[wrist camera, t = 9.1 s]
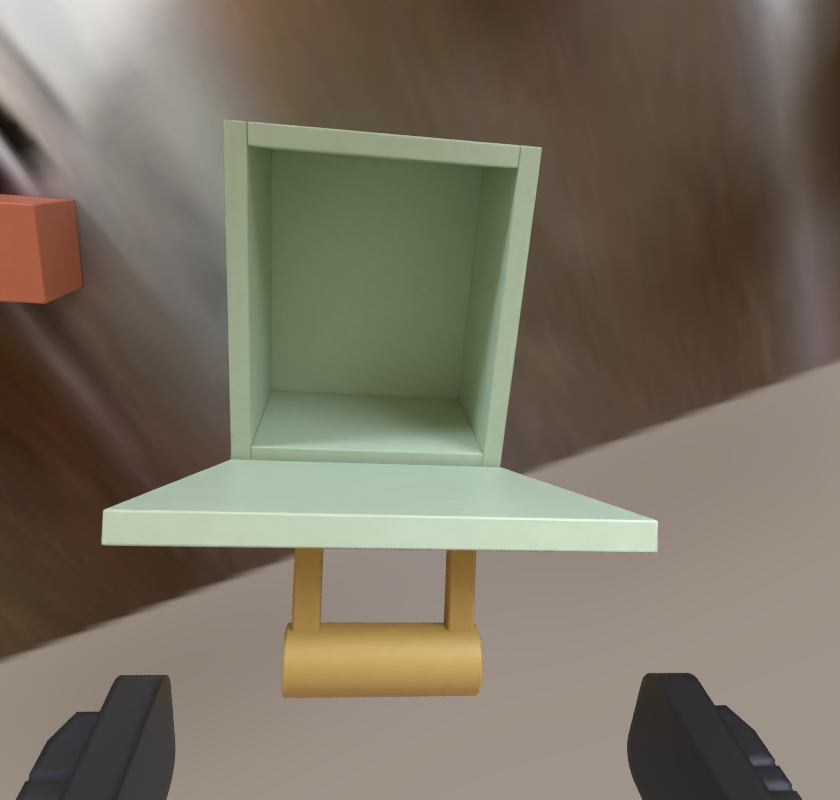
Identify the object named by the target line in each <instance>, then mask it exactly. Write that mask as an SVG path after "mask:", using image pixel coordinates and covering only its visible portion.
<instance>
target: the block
mask: <svg viewBox="0 0 840 800" xmlns="http://www.w3.org/2000/svg"><path fill="white" fill-rule="evenodd" d="M82 287H83V281H82V271H81V261H80V251H79V241H78V230H77V220H76V210H75V201H74V200H72V199H59V198H45V197H31V196H18V195H4V194H0V301H4V302H22V303H40V304H46V303H48V302H50V301H52V300H55V299H57V298H59V297H61V296H64V295H66V294H68V293H70V292H73V291H75V290H77V289H79V288H82Z"/></svg>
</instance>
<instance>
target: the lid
mask: <svg viewBox="0 0 840 800" xmlns="http://www.w3.org/2000/svg"><path fill="white" fill-rule="evenodd" d="M657 537H658V522H657V521H656V520H654V519H651V518H648V517H645V516H642V515H639V514H635V513H633V512H631V511H628V510H624V509H622V508H619V507H616V506H613V505H610V504H607V503H604V502H601V501H598V500H595V499H592V498H589V497H586V496H583V495H580V494H577V493H575V492H572V491H569V490H566V489H563V488H560V487H557V486H554V485H551V484H548V483H545V482H542V481H539V480H536V479H534V478H530V477H528V476H525V475H522V474H519V473H516V472H513V471H510V470H507V469H504V468H501V467H471V466H436V465H402V464H368V463H334V462H300V461H266V460H232V459H231V460H228V461H226V462H223V463H221V464H218V465H216V466H213V467H211V468H208V469H206V470H203V471H200V472H198V473H195V474H193V475H190V476H188V477H185V478H183V479H180V480H178V481H175V482H173V483H170V484H168V485H165V486H163V487H160V488H158V489H155V490H153V491H150V492H147V493H145V494H142V495H140V496H137V497H135V498H132V499H130V500H127V501H125V502H122V503H120V504H117V505H115V506H112V507H110V508H107V509H105V510H104V511H103V524H102V545H109V546H181V547H252V548H295V561H294V585H293V609H292V623H288V625H287V627H286V632H285V640H284V650H283V662H282V695H283V697H284V698H328V697H329V698H332V697H406V696H407V697H411V696H475V695H477V694H478V693H479V691H480V687H481V682H482V647H481V641H480V635H479V631H478V628H477V626H476V624H474V598H475V569H476V551H541V552H549V551H550V552H612V553H656V552H657V539H658V538H657ZM323 548H324V549H396V550H397V549H400V550H401V549H403V550H447V554H446V581H445V609H444V610H445V611H444V623H320V616H321V615H320V614H321V592H322V568H323V567H322V566H323Z"/></svg>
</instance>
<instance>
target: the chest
mask: <svg viewBox="0 0 840 800" xmlns="http://www.w3.org/2000/svg"><path fill="white" fill-rule="evenodd" d="M223 125H224V169H225V212H226V255H227V299H228V342H229V385H230V429H231V459H232V460H266V461H300V462H334V463H368V464H402V465H436V466H471V467H500V463H501V455H502V448H503V440H504V432H505V425H506V417H507V410H508V402H509V394H510V387H511V379H512V372H513V364H514V357H515V349H516V341H517V334H518V326H519V319H520V311H521V303H522V296H523V288H524V281H525V273H526V266H527V258H528V250H529V243H530V235H531V228H532V220H533V212H534V205H535V197H536V190H537V182H538V175H539V167H540V159H541V152H542V148H541V147H531V146H518V145H508V144H497V143H485V142H474V141H463V140H452V139H440V138H429V137H418V136H407V135H395V134H384V133H373V132H362V131H350V130H339V129H328V128H317V127H305V126H294V125H283V124H272V123H260V122H246V121H238V120H227V119H225V120H224V121H223Z"/></svg>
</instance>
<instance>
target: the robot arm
mask: <svg viewBox="0 0 840 800" xmlns="http://www.w3.org/2000/svg"><path fill="white" fill-rule="evenodd" d="M627 753H628V761H629V766H630V770H631V774H632V777H633V779H634V782H635V784H636V786H637V789H638V791H639V793H640V795H641V797H642V800H802V799H801V797H800V796H799V794H798V793H797V792H796V791H793V789H792V786H791V783H790V781H789V780H788V778H787V777H786V775H785V774H784V773H783V771H782V770H781V768H780V767H779V766H776V765H775V759H774V758H773V757H772V755H771V754H770V752H769V751H768V749H767V748H766V746H765V745H764V744H763V742H762V741H761V739H760V738H759V736H758V735H757V733H756V732H755V730H753V729H752V728H751V727H750V726H749V725H747V723H745V722H744V721H743V720H742V719H741V718H740V717H739V716H737V715H736V714H735V713H734V712H733V711H731V710H730V709H729V708H728V707H727V706H726V705H719V706H715V705H714V704H713V702H712V701H711V699H710V697H709V696H708V694H707V693H706V691H705V690H704V688H703V687H702V685H701V684H700V682H699V681H698V679H697V678H696V677H695V676H694V675H692V674H690V673H648V674H646V675H645V676H644V678H643V680H642V683H641V687H640V691H639V695H638V699H637V703H636V707H635V711H634V715H633V719H632V723H631V727H630V731H629V735H628V742H627ZM174 760H175V735H174V722H173V709H172V697H171V684H170V679H169V676H168V675H123V676H122V675H120V676H119V677H117V678H116V680H115V681H114V683H113V685H112V687H111V689H110V691H109V693H108V695H107V697H106V699H105V702H104V704H103V706H102V708H101V710H100V712H76V714H75V715H73V716H72V717H71V718H70V719H69V720H68V721H67V722H66V723H65V724H64V725H63V726H62V727H61V728H60V729H59V730H58V731H57V732H56V733H55V734H54V735H53V736H52V737H51V738H50V739H49V740H48V741H47V743H46V744H45V746H44V748H43V750H42V752H41V754H40V756H39V757H38V760H37V761H36V763H35V765H34V767H33V769H32V770H31V772H30V774H29V780H28V781H26V782H25V783H24V785H23V787H22V789H21V791H20V793H19V795H18V797H17V798H16V800H166V798H167V795H168V791H169V788H170V784H171V780H172V775H173V769H174Z"/></svg>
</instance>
